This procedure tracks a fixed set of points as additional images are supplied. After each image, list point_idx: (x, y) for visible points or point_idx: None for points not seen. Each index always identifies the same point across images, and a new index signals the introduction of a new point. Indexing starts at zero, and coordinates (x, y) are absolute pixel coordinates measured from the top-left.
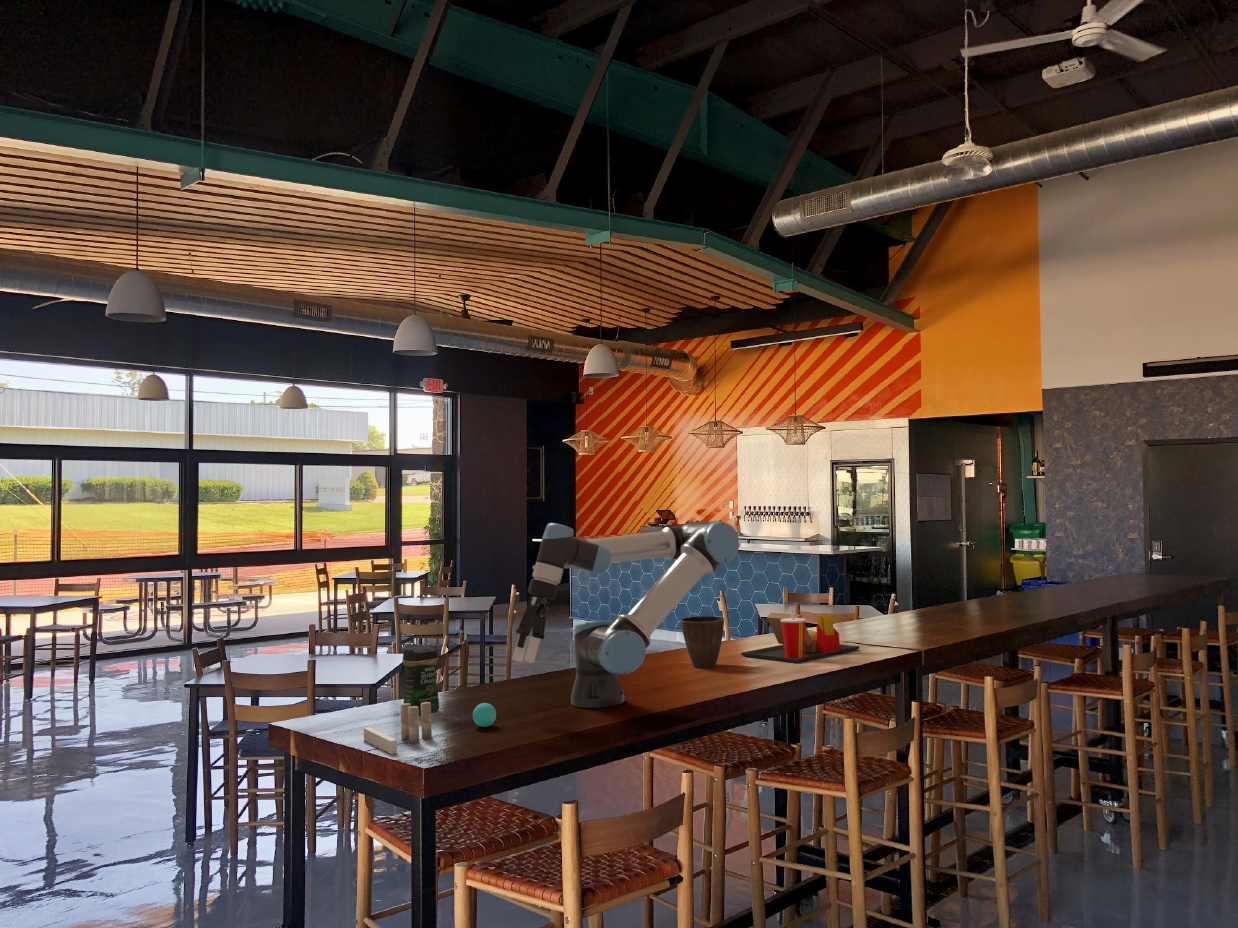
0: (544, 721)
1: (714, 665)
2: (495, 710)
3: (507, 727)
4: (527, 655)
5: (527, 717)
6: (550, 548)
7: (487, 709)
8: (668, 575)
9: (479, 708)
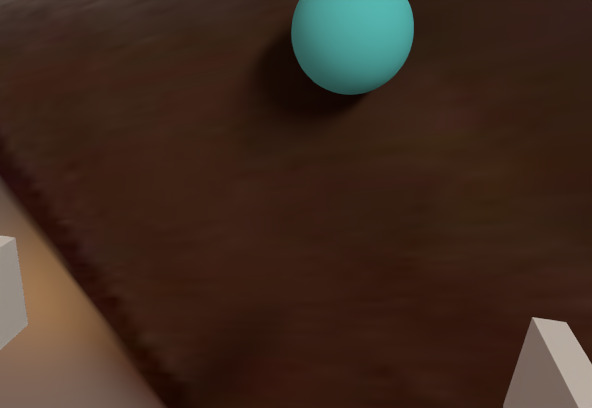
0: (411, 318)
1: None
2: (359, 86)
3: (327, 156)
4: (546, 380)
5: (524, 235)
6: None
7: (301, 50)
8: None
9: (303, 3)
